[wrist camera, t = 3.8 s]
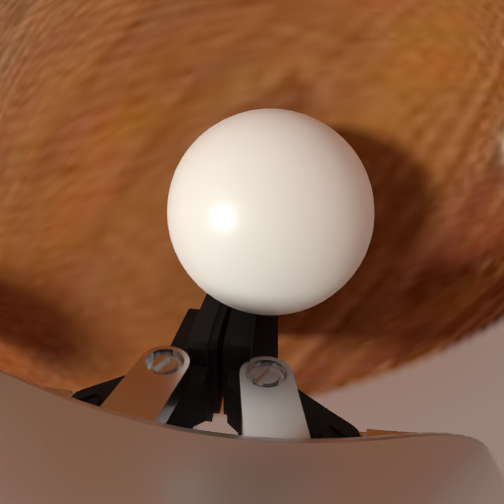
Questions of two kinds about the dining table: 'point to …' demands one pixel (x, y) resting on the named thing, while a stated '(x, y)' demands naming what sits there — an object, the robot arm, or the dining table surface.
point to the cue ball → (270, 211)
